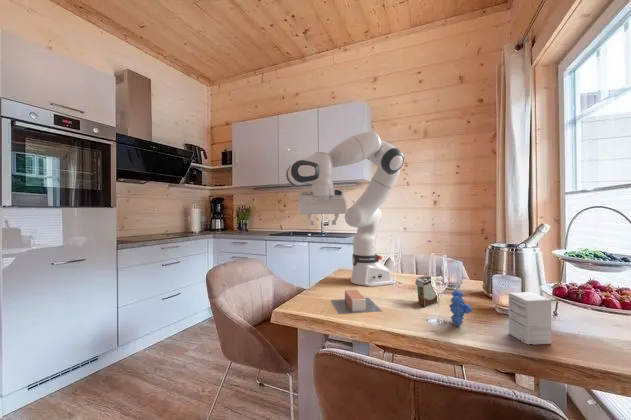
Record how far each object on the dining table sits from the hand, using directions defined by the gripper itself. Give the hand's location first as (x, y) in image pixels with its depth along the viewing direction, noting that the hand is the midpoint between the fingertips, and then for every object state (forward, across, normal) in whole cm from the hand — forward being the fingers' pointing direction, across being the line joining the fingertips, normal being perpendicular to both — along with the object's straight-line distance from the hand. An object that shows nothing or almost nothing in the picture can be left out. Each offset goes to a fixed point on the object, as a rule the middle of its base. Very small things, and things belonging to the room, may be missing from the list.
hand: (322, 225), depth 119 cm
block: (+28, +10, -6) cm, 31 cm away
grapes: (+31, +39, -34) cm, 60 cm away
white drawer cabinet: (+31, +53, -45) cm, 76 cm away
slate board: (+31, +10, -12) cm, 35 cm away
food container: (+31, +39, -12) cm, 51 cm away
